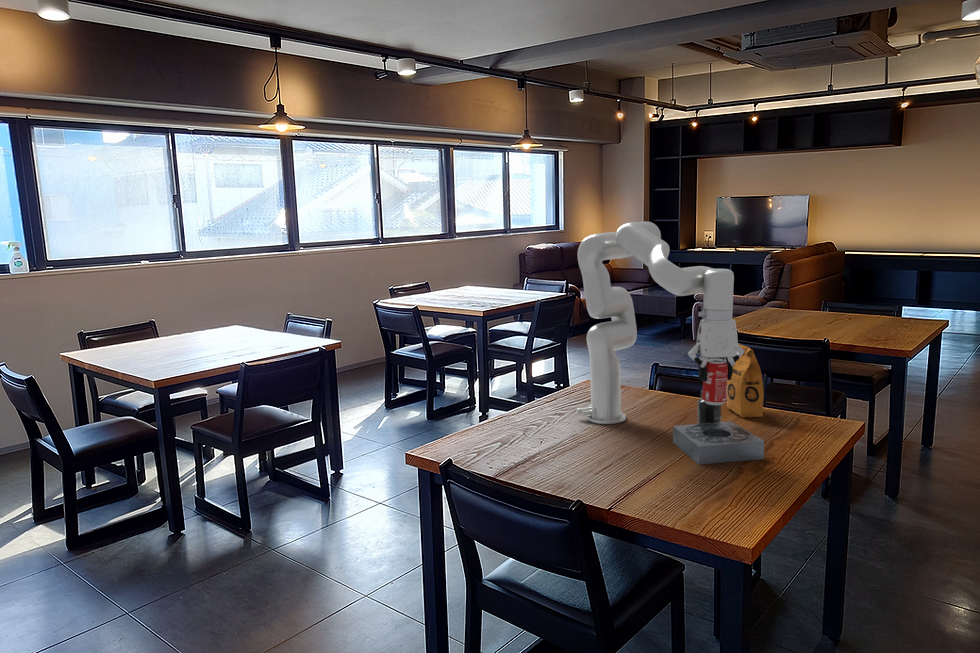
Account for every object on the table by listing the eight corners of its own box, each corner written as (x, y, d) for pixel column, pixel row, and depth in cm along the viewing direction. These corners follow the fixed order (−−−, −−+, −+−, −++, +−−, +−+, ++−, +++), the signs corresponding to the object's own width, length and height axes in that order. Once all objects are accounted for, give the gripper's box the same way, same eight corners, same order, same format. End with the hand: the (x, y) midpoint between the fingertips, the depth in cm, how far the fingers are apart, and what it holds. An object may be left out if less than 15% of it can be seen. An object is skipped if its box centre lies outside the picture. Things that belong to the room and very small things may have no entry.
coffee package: (736, 419, 217) (737, 351, 213) (723, 408, 229) (723, 343, 225) (767, 418, 217) (769, 349, 213) (752, 407, 229) (754, 342, 225)
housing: (698, 464, 180) (698, 446, 179) (672, 442, 198) (672, 425, 197) (763, 459, 182) (764, 441, 181) (732, 437, 200) (732, 421, 199)
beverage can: (706, 398, 193) (708, 356, 190) (729, 401, 189) (731, 359, 187) (699, 403, 188) (700, 361, 185) (722, 407, 184) (724, 364, 182)
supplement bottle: (718, 425, 211) (718, 387, 209) (723, 432, 204) (723, 393, 202) (695, 425, 212) (695, 388, 210) (699, 433, 205) (700, 394, 203)
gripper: (692, 318, 179) (690, 385, 182) (755, 315, 181) (751, 381, 184) (681, 314, 186) (679, 378, 190) (741, 311, 188) (738, 374, 192)
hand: (715, 379), depth 187 cm, fingers closed on beverage can, 6 cm apart
